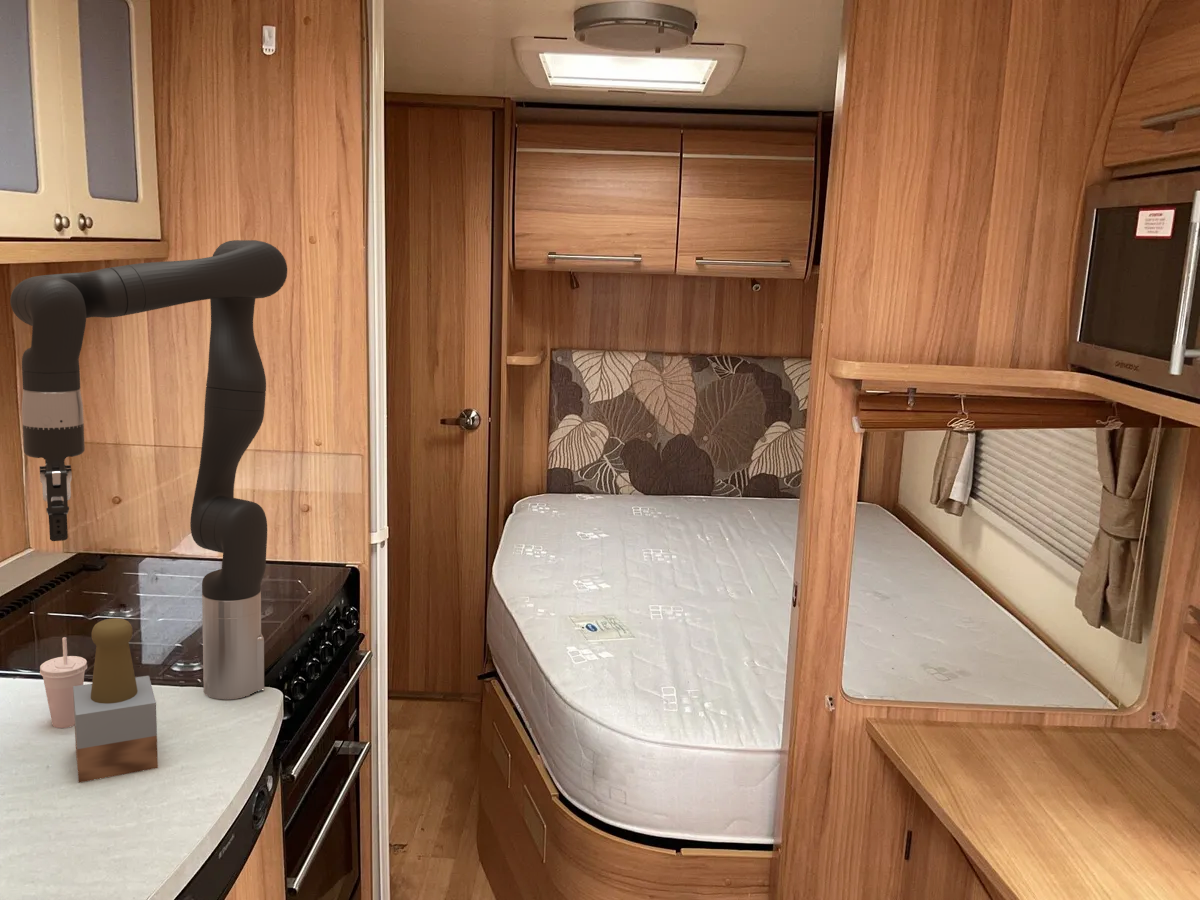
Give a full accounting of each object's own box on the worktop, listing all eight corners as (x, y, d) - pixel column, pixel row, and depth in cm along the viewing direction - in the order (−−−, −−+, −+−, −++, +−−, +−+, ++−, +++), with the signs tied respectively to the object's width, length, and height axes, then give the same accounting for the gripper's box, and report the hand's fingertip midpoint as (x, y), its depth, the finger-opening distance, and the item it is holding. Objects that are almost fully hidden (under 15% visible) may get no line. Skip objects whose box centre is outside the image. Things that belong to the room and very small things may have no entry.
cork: (147, 691, 140) (145, 619, 138) (110, 707, 135) (108, 632, 133) (117, 682, 143) (115, 610, 141) (80, 697, 137) (77, 623, 135)
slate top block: (149, 706, 146) (148, 675, 146) (156, 735, 138) (156, 702, 137) (74, 718, 141) (73, 686, 141) (77, 749, 133) (75, 715, 132)
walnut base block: (150, 737, 147) (149, 706, 146) (157, 768, 139) (156, 735, 138) (75, 750, 142) (74, 718, 141) (78, 782, 134) (77, 749, 133)
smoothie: (57, 736, 146) (52, 648, 143) (33, 723, 149) (29, 637, 147) (98, 721, 151) (94, 636, 149) (74, 709, 155) (71, 626, 152)
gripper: (85, 428, 132) (90, 543, 135) (81, 412, 144) (85, 518, 147) (21, 430, 129) (27, 548, 132) (22, 413, 141) (28, 522, 144)
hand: (58, 532), depth 139 cm, fingers open, 8 cm apart
